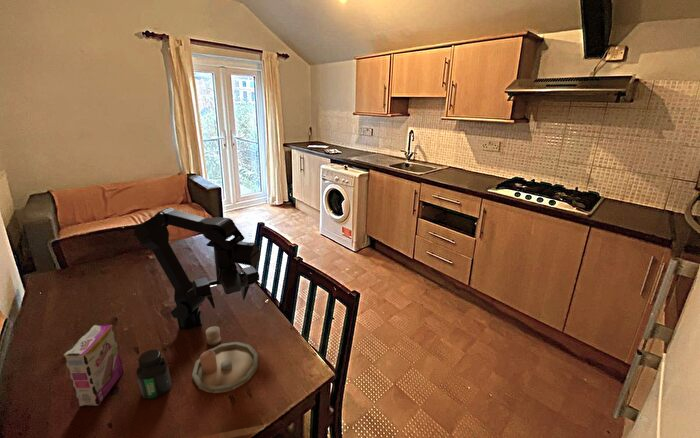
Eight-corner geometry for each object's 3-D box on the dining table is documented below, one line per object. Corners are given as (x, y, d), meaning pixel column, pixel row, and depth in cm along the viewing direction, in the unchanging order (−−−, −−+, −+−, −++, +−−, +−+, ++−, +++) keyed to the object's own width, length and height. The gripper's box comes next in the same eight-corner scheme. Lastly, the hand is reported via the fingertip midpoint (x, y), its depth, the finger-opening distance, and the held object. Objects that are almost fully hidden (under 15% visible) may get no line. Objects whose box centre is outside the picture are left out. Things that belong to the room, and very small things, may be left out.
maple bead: (206, 348, 101) (204, 335, 99) (208, 339, 104) (206, 327, 103) (220, 346, 102) (218, 333, 100) (221, 338, 105) (220, 325, 104)
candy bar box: (100, 406, 81) (84, 355, 75) (79, 407, 81) (61, 355, 75) (125, 371, 92) (113, 323, 86) (106, 371, 91) (92, 324, 85)
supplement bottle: (157, 406, 82) (148, 369, 78) (136, 398, 84) (126, 362, 79) (178, 384, 88) (171, 349, 84) (157, 378, 90) (150, 343, 86)
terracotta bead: (200, 376, 90) (198, 362, 88) (203, 365, 93) (201, 351, 92) (216, 373, 91) (214, 359, 89) (218, 363, 94) (216, 349, 93)
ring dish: (187, 400, 83) (186, 394, 83) (200, 352, 99) (199, 346, 98) (257, 389, 88) (256, 383, 87) (258, 344, 103) (258, 338, 103)
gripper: (197, 280, 86) (203, 328, 91) (264, 264, 96) (266, 307, 102) (189, 262, 94) (195, 307, 100) (252, 249, 105) (254, 290, 110)
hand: (228, 303), depth 103 cm, fingers open, 9 cm apart
